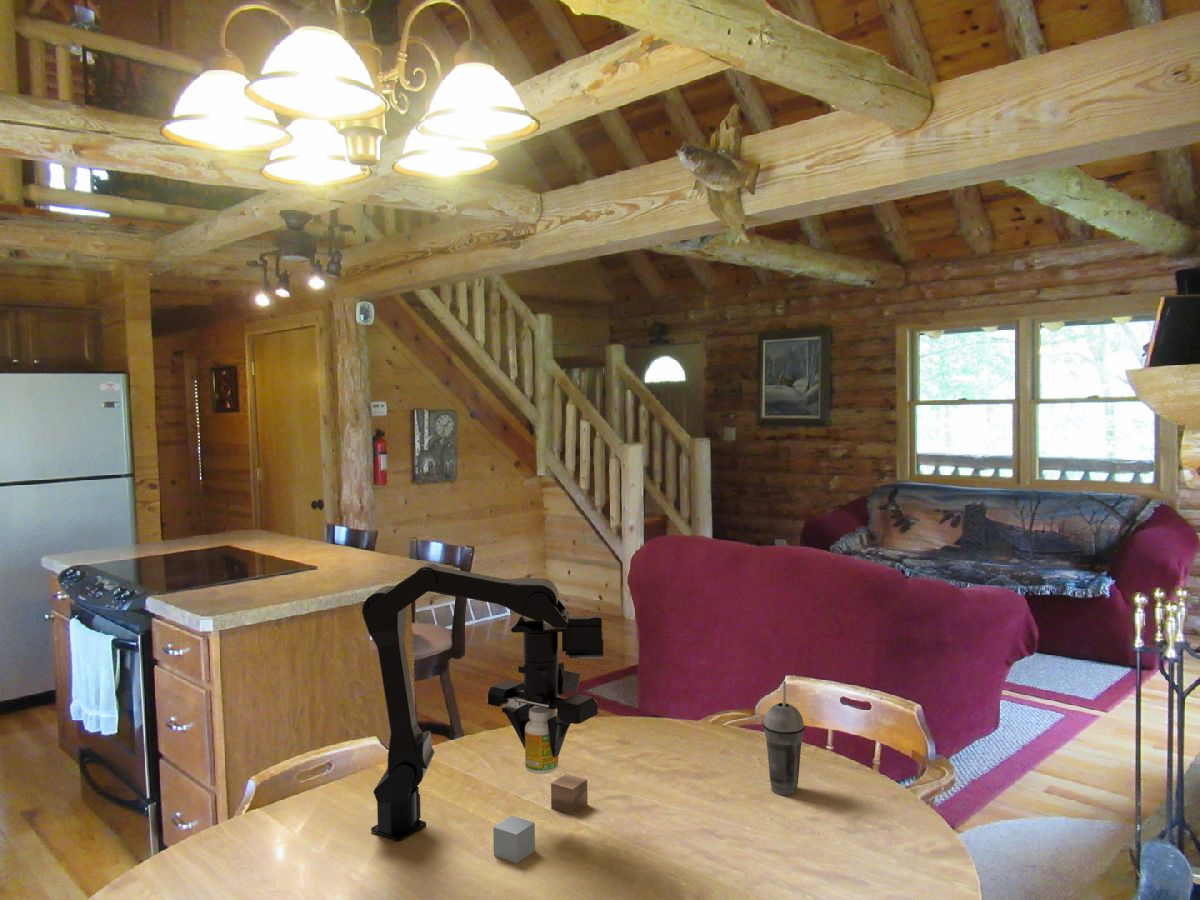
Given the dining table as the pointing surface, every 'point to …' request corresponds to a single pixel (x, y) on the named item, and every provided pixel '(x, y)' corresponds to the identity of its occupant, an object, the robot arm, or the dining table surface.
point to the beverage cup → (784, 746)
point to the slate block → (514, 839)
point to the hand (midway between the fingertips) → (541, 752)
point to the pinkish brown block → (569, 794)
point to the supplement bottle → (539, 742)
